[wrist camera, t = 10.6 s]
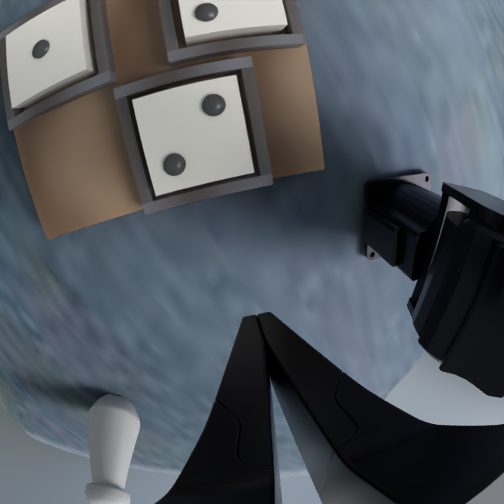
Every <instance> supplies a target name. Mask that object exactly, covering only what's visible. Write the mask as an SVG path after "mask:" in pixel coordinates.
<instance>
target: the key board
mask: <svg viewBox="0 0 504 504" xmlns="http://www.w3.org/2000/svg"><path fill="white" fill-rule="evenodd" d="M63 1H65V0H51V1H50V2H48V3H46V4H44V5H42V6H41V7H39V8H37V9H36V10H34V11H32V12H31V13H29V14H27V15H26V16H24V17H23V18H21V19H20V20H18V21H17V22H15V23H14V24H12V25H11V26H9V27H8V28H6V29H5V30H4V31H2V32H1V33H0V68H1V80H2V90H3V98H4V105H5V111H6V117H7V123H8V128H9V131H10V130H14V134H15V139H16V143H17V148H18V152H19V156H20V160H21V164H22V167H23V171H24V174H25V178H26V181H27V184H28V187H29V191H30V194H31V197H32V200H33V203H34V205H35V208H36V211H37V214H38V217H39V219H40V222H41V224H42V227H43V230H44V232H45V235H46V237H47V239H48V240H49V239H52V238H55V237H57V236H60V235H63V234H66V233H69V232H72V231H75V230H78V229H81V228H84V227H87V226H90V225H93V224H97V223H100V222H103V221H106V220H109V219H113V218H116V217H119V216H123V215H126V214H130V213H133V212H137V211H140V210H144V212H145V215H147V214H151V213H154V212H158V211H162V210H166V209H170V208H173V207H177V206H181V205H185V204H189V203H193V202H197V201H201V200H206V199H210V198H214V197H218V196H223V195H227V194H231V193H236V192H240V191H245V190H250V189H254V188H259V187H264V186H269V185H274V184H273V179H274V178H280V177H285V176H290V175H296V174H301V173H307V172H313V171H319V170H325V166H324V156H323V147H322V139H321V131H320V123H319V116H318V109H317V102H316V96H315V90H314V83H313V78H312V72H311V66H310V61H309V56H308V51H307V46H306V41H305V36H304V31H303V27H302V22H301V18H300V13H299V9H298V5H297V1H296V0H282V2H283V6H284V11H285V15H286V19H287V24H288V25H287V26H286V27H285V28H284V29H282V30H281V31H280V32H279V33H276V34H262V35H252V36H243V37H235V38H228V39H221V40H215V41H209V42H204V43H199V44H194V45H189V46H187V45H186V40H185V35H184V29H183V24H182V18H181V13H180V7H179V1H178V0H86V1H87V2H88V3H89V4H90V14H91V25H92V34H93V42H94V49H95V56H96V63H97V69H98V73H97V74H95V75H92V76H90V77H88V78H85V79H83V80H81V81H79V82H76V83H74V84H72V85H70V86H68V87H66V88H63V89H61V90H59V91H57V92H55V93H53V94H51V95H50V96H48V97H46V98H44V99H42V100H40V101H38V102H37V103H35V104H33V105H31V106H30V107H27V108H12V105H11V98H10V91H9V82H8V71H7V57H6V36H7V35H8V34H10V33H11V32H12V31H14V30H15V29H17V28H18V27H20V26H21V25H23V24H25V23H26V22H28V21H29V20H31V19H33V18H34V17H36V16H38V15H39V14H41V13H43V12H45V11H46V10H48V9H50V8H52V7H54V6H56V5H57V4H59V3H61V2H63ZM233 75H236V76H237V82H238V87H239V92H240V97H241V103H242V108H243V113H244V119H245V124H246V129H247V135H248V140H249V146H250V151H251V157H252V162H253V168H254V173H250V174H245V175H241V176H236V177H231V178H227V179H222V180H218V181H214V182H209V183H205V184H201V185H197V186H193V187H189V188H185V189H181V190H177V191H173V192H169V193H165V194H162V195H158V196H156V194H155V191H154V187H153V184H152V180H151V176H150V173H149V169H148V165H147V161H146V158H145V154H144V150H143V146H142V141H141V137H140V133H139V129H138V125H137V120H136V116H135V111H134V106H133V102H132V100H134V99H137V98H140V97H143V96H146V95H150V94H153V93H157V92H160V91H164V90H168V89H171V88H175V87H179V86H183V85H188V84H192V83H196V82H201V81H206V80H211V79H216V78H221V77H227V76H233Z"/></svg>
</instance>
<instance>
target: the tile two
mask: <svg viewBox="0 0 504 504" xmlns="http://www.w3.org/2000/svg"><path fill="white" fill-rule="evenodd" d="M132 102H133V106H134V111H135V116H136V120H137V125H138V129H139V133H140V137H141V141H142V146H143V150H144V154H145V158H146V161H147V165H148V169H149V173H150V176H151V180H152V184H153V187H154V191H155V194H156V196H158V195H162V194H165V193H169V192H173V191H177V190H181V189H185V188H189V187H193V186H197V185H201V184H205V183H209V182H214V181H218V180H222V179H227V178H231V177H236V176H241V175H245V174H250V173H254V168H253V162H252V157H251V151H250V146H249V140H248V135H247V129H246V124H245V119H244V113H243V108H242V103H241V97H240V92H239V87H238V82H237V76H236V75H233V76H227V77H221V78H216V79H211V80H206V81H201V82H196V83H192V84H188V85H183V86H179V87H175V88H171V89H168V90H164V91H160V92H157V93H153V94H150V95H146V96H143V97H140V98H137V99H134V100H132Z"/></svg>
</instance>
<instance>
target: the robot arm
mask: <svg viewBox="0 0 504 504" xmlns="http://www.w3.org/2000/svg"><path fill="white" fill-rule="evenodd" d="M425 177H426V179H425ZM371 185H373V188H372V189H371V190H370V186H371ZM364 191H365V210H364V242H365V256H366V257H367V258H368V259H369V260H374V259H377V258H380V257H382V258H383V259H384V260H386V261H387V262H388V263H389V264H390V265H391V266H392V267H395V266H397V267H398V268H399V269H400V270H401V271H402V272H403V273H405V274H406V275H407V276H408V277H409V278H410V279H411V280H412V281H415V280H417V283H416V286H415V289H414V291H413V294H412V297H411V298H409V301H408V303H407V307H408V309H409V312H410V314H411V317H412V319H413V325H414V327H415V329H416V331H417V333H418V335H419V339H418V342H419V344H420V346H421V347H422V348H423V349H424V350H425V351H426V352H427V353H428V354H429V355H431V356H432V357H433V358H434V359H436V360H437V361H439V362H441V365H440V367H439V369H440V370H441V371H443V372H447V373H451V374H455V375H457V376H459V377H462V378H464V379H466V380H468V381H469V382H471V383H472V384H473V385H475V386H476V387H477V388H479V389H480V390H481V391H482V392H483V393H485V394H486V395H488V396H493V397H499V398H502V397H504V201H503V200H501V199H499V198H497V197H495V196H492V195H490V194H488V193H485V192H483V191H480V190H476V189H472V188H468V187H463V186H459V185H454V184H450V183H445V182H443V185H442V190H441V191H443V192H442V196H440V195H438V194H436V193H434V192H431V176H430V174H429V173H427V172H419V173H412V174H405V175H398V176H391V177H385V178H378V179H372V180H368V181H367V182H366V183H365V186H364ZM371 252H372V254H371V255H370V253H371ZM270 380H271V383H272V385H273V388H274V391H275V393H276V396H277V398H278V401H279V403H280V405H281V408H282V410H283V413H284V415H285V418H286V420H287V423H288V425H289V427H290V430H291V432H292V435H293V437H294V439H295V442H296V444H297V446H298V449H299V451H300V453H301V456H302V458H303V460H304V463H305V465H306V467H307V470H308V472H309V474H310V477H311V479H312V481H313V483H314V486H315V488H316V490H317V492H318V494H319V497H320V499H321V502H322V503H323V504H504V424H501V425H486V426H450V425H436V424H431V423H427V422H424V421H422V420H419V419H417V418H415V417H413V416H412V415H409V414H408V413H406V412H404V411H403V410H401V409H399V408H397V407H395V406H394V405H392V404H390V403H388V402H387V401H385V400H383V399H381V398H380V397H378V396H377V395H375V394H373V393H372V392H370V391H369V390H367V389H365V388H364V387H363V386H361V385H360V384H359V383H357V382H356V381H355V380H353V379H352V378H351V377H349V376H348V375H347V374H346V373H344V372H342V370H340V369H339V368H338V367H337V366H335V365H334V364H333V363H332V362H330V361H329V360H328V359H327V358H326V357H324V356H323V355H322V354H321V353H319V352H318V351H317V350H316V349H314V348H313V347H312V346H311V345H310V344H308V343H307V342H306V341H305V340H303V339H302V338H301V337H300V336H299V335H297V334H296V333H295V332H294V331H293V330H291V329H290V328H289V327H288V326H287V325H285V324H284V323H283V322H282V321H281V320H279V319H278V318H277V317H276V316H275V315H273V314H272V313H271V312H266V313H261V314H258V315H257V316H256V315H251V316H246V317H243V319H242V322H241V325H240V328H239V331H238V334H237V337H236V340H235V343H234V346H233V348H232V351H231V354H230V357H229V360H228V363H227V366H226V369H225V372H224V375H223V378H222V381H221V384H220V387H219V390H218V393H217V396H216V399H215V402H214V404H213V407H212V410H211V413H210V415H209V418H208V420H207V423H206V425H205V428H204V430H203V432H202V434H201V436H200V438H199V440H198V442H197V444H196V446H195V448H194V450H193V452H192V453H191V455H190V457H189V459H188V461H187V463H186V464H185V466H184V468H183V470H182V472H181V474H180V475H179V477H178V479H177V480H176V482H175V484H174V485H173V487H172V488H171V489H170V491H169V492H168V493H167V494H166V495H165V496H164V497H163V498H161V499H160V500H159V501H158V502H156V503H155V504H282V495H281V485H280V474H279V463H278V453H277V442H276V432H275V422H274V411H273V401H272V391H271V383H270Z"/></svg>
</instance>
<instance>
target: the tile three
mask: <svg viewBox="0 0 504 504" xmlns="http://www.w3.org/2000/svg"><path fill="white" fill-rule="evenodd" d="M178 1H179V7H180V13H181V18H182V24H183V29H184V35H185V40H186V45H187V46H189V45H194V44H199V43H204V42H209V41H215V40H221V39H228V38H235V37H243V36H252V35H262V34H276V33H279V32H280V31H281V30H282V29H284V28H285V27H286V26H287V25H288V24H287V19H286V15H285V11H284V6H283V2H282V0H178Z"/></svg>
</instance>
